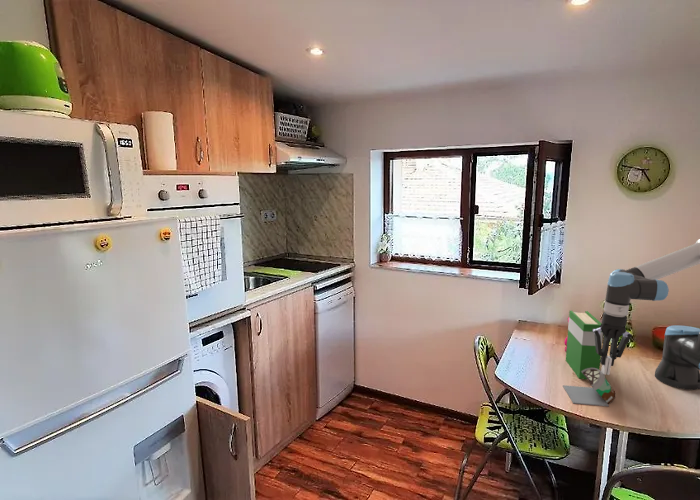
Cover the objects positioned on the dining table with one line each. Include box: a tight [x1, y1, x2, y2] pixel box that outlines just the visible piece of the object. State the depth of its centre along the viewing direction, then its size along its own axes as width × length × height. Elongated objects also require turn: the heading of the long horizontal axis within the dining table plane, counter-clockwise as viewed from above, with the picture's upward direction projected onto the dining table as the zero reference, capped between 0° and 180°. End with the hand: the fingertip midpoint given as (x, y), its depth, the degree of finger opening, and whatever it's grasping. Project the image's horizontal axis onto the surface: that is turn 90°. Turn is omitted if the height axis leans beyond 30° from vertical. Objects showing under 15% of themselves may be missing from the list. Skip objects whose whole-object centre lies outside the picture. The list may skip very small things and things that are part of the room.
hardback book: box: [565, 310, 604, 380], centre depth 177 cm, size 18×7×24 cm, turn 169°
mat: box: [562, 384, 610, 407], centre depth 158 cm, size 12×13×1 cm
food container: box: [581, 368, 617, 405], centre depth 156 cm, size 12×6×10 cm
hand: (605, 372), depth 155 cm, fingers closed
